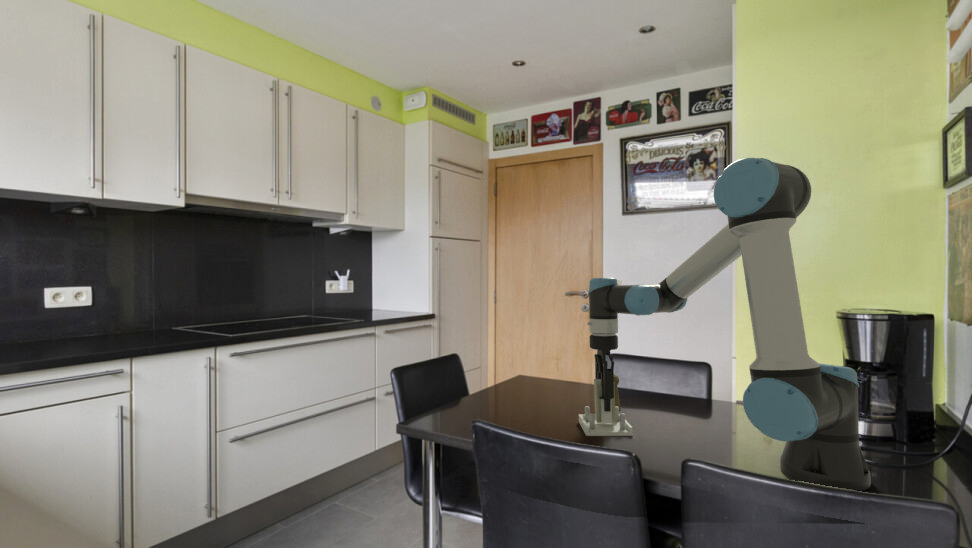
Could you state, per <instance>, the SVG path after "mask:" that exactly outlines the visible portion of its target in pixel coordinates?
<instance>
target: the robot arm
mask: <svg viewBox="0 0 972 548" xmlns="http://www.w3.org/2000/svg"><path fill="white" fill-rule="evenodd" d="M811 197H812V185H811V182H810V179H809V178H808V176H807V175H806V174H805V173H804V172H803V171H802V170H801V169H799V168H797V167H795V166H793V165H789V164H783V163H778V162H774V161H771V160H770V159H768V158H763V157H760V158H759V157H743V158H741V159H738V160H735V161H734V162H732V163H730V164H729V165H728V166H726V167H725V168H724V169H723V171H722V172H721V174H720V175H719V176H718V177H717V179H716V181H715V183H714V187H713V200H714V204H715V206H716V207H717V209H718V210H719V211H720V212H722V213H723V214H724V215H725V216H727V221H728V223H727V224H726V225H725V226H724V227H723V228H721V229H720V230H719V231H718V232H717V233H715V235H713V236H712V237H711V238H710V239H708V241H706V242H705V243H704V244H703V245H702V246H700V247H699V248H698V250H696V251H695V252H694V253H693V254H691V255H690V256H689V257H688V258H687V259H686V260H685V261H683V262H682V263H681V264H680V265H679V266H678V267H677V268H675V269H674V270H673V271H672V272H670V273H669V274H668V275H667V277H665V278H664V279H663V280H662V281H661V282H659V283H658V284H626V285H624V284H618V280H617V278H616V277H593V278H591V279H590V280H589V284H588V287H589V288H588V302H589V303H588V305H589V307H588V308H589V310H588V311H589V314H588V315H589V316H588V317H589V321H588V322H587V323H586V324H587V326H589V332H590V333H591V334H590V335H589V348H590V349H592V350H596V353H595V354H594V372H595V373H594V375H595V376H594V377H595V378H594V379H601V385H602V397H599V398H600V399H601V423H612V398H614V375H615V374H614V370H615V361H614V359H613V356H612V354H611V351H612V350H613V351H614V350H617V349H618V348H619V336H618V335H617V334H618V333H619V316H618V314H625V315H635V316H639V317H640V316H650V315H653V314H658V313H661V314H662V313H669V314H670V313H674V312H678V311H681V310H682V309H684V307H685V306H686V305H687V303H688V298H689V297H690V296H692V295H693V294H694V293H696V292H697V291H698V290H700V289H701V288H702V287H704V286H705V285H706V284H707V283H708V282H710V281H711V280H712V279H713V278H715V277H716V276H718V275H719V274H720V273H721V272H722V271H724V270H725V269H726V268H728V267H729V266H730V265H732V263H734V262H735V261H737V260H738V259H739V258H740V257H741V259H742V260H741V261H742V266H743V273H744V280H745V287H746V293H747V294H746V295H747V300H748V306H749V307H748V309H749V314H750V321H751V329H752V336H753V340H754V341H753V342H754V349H755V356H756V358H754V359H755V360H754V361H752V363H751V364H749V366H748V367H749V375H750V381H751V382H750V383H749V384H748V385H747V387H746V389H744V392H743V396H742V407H743V410H744V413H745V415H746V416H747V419H748V420H749V422H750V423H751V424H752V426H753V427H755V428H756V429H758V431H759V432H760V433H761V434H762V435H765V436H766V437H769V438H771V439H772V440H776V441H780V442H786V443H785V444H784V447H783V450H782V453H781V455H780V457H779V458H780V460H779V461H780V462H779V464H780V465H779V466H780V467H779V468H780V470H781V472H782V473H783V474H784V475H786V476H787V477H789V478H790V479H793V480H795V481H797V480H799V481H804V482H809V483H814V484H820V485H825V486H832V487H838V488H846V489H853V490H860V491H859V492H862V491H865V490H868V489H870V487H871V486H872V481H871V480H872V479H871V476H872V475H871V471H870V469H869V466H868V464H867V461H866V458H865V456H864V453H863V451H862V449H861V446H860V441H859V437H860V435H859V433H860V432H859V431H860V430H859V388H860V384H859V380H858V374H857V371H856V370H855V369H853V368H852V367H848V366H842V365H834V364H827V363H819V362H818V361H816V360H815V359H813V358H812V357H811V356H810V354H809V351H808V345H807V338H806V332H805V325H804V319H803V312H802V307H801V300H800V293H799V288H798V282H797V276H796V275H797V274H796V269H795V268H796V267H795V263H794V256H793V250H792V243H791V237H790V230H791V228H792V227H793V226H794V225H795V224H796V222H797V218H798V217H799V216H800V215H802V213H803V212H804V211H805V209H807V206H808V205H809V204H810V203H809V202H810V200H811ZM799 481H798V482H799Z"/></svg>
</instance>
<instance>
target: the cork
mask: <svg viewBox="0 0 972 548" xmlns="http://www.w3.org/2000/svg"><path fill="white" fill-rule="evenodd" d="M619 383H620V378H619V376H618V375H617V374H614V390H615V406H618V407H619V413H621V411H622V409H621V403H620V394H619V389H618V385H619Z"/></svg>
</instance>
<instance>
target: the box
mask: <svg viewBox="0 0 972 548" xmlns="http://www.w3.org/2000/svg"><path fill="white" fill-rule="evenodd" d="M593 391H594V392H593V394H594V395H593V396H594V414H595V419H596V422H597V423H601V399H600V398H599V397H602V385H601V379H595V378H594V379H593ZM612 423H616V416H615V390H614V398H612Z"/></svg>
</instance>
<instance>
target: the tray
mask: <svg viewBox="0 0 972 548" xmlns="http://www.w3.org/2000/svg"><path fill="white" fill-rule="evenodd" d="M590 409H591V407H590V406H589V405H586V406H584V413H583V414H581V413H579V414H578V423H579V425H580V427H581V428H582V430H583V433H584V434H585V436H586V437H633V436H634V434H633V432H634V431H633V430H634V427H633V426H632V425H631V424H630V423H629V422H628V421H627V419H626V414H625V413H624V412H622V413H621V412H619V407H618V406H615V416H616V423H597V422H596V419H595V412H594V413H593V412H591V410H590Z"/></svg>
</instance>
